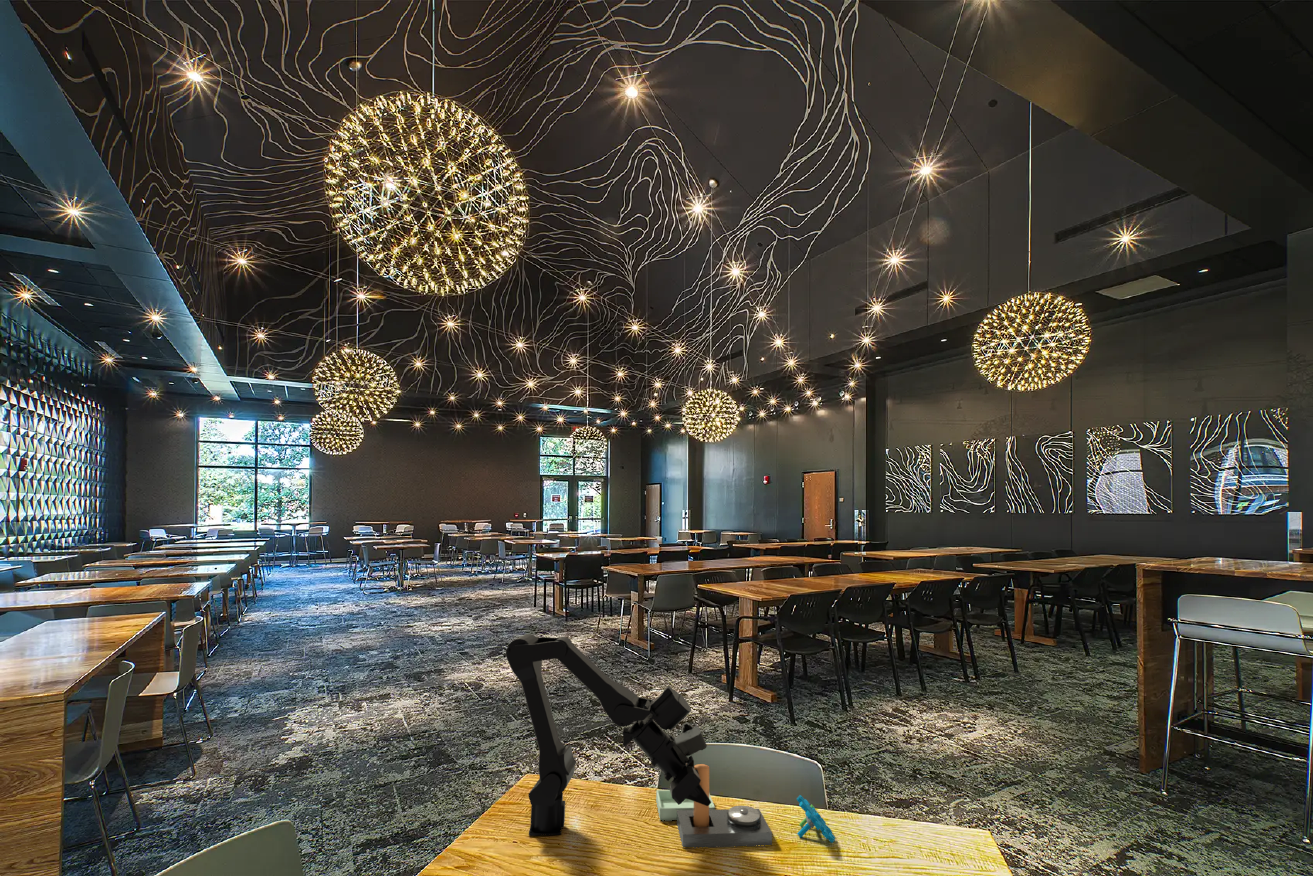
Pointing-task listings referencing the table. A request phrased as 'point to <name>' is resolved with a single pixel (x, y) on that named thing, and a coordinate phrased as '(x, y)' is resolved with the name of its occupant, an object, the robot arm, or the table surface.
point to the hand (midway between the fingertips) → (708, 800)
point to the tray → (673, 805)
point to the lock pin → (699, 809)
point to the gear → (813, 820)
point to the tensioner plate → (725, 828)
